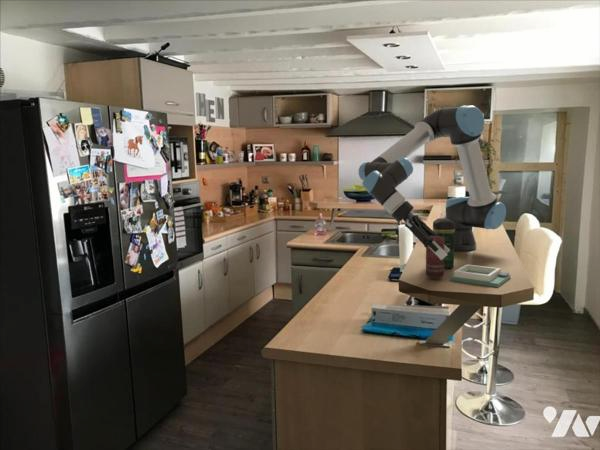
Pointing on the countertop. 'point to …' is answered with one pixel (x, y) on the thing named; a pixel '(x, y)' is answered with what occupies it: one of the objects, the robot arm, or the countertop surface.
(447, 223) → the coffee jar
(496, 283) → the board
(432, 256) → the can
